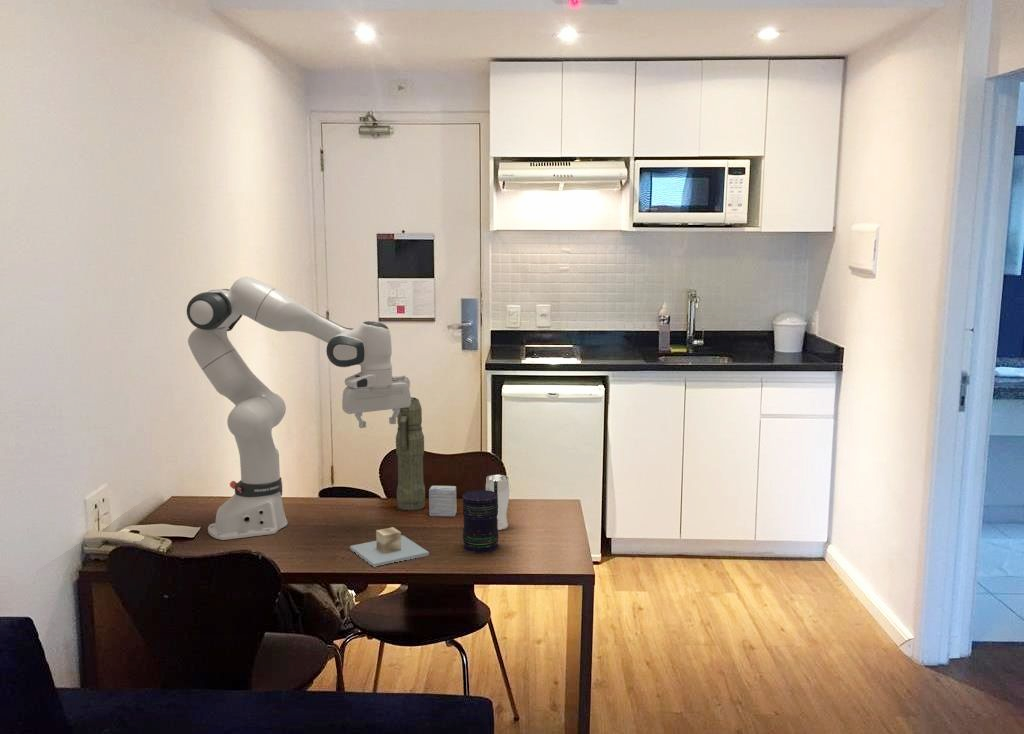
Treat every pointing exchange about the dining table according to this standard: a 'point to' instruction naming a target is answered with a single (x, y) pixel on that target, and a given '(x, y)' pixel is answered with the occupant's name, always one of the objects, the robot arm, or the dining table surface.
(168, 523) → the dining table surface
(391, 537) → the birch cube
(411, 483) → the thermos
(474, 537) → the storage jar
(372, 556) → the mat
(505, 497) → the beer glass
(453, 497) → the medicine box
